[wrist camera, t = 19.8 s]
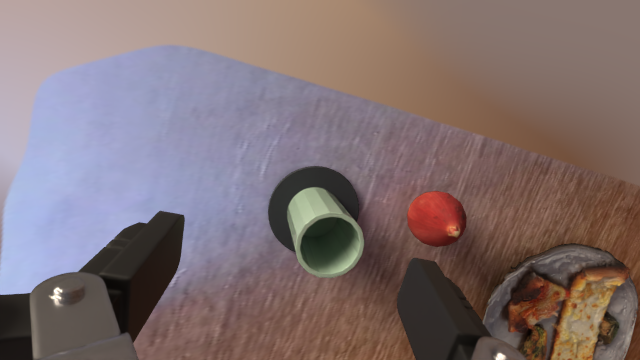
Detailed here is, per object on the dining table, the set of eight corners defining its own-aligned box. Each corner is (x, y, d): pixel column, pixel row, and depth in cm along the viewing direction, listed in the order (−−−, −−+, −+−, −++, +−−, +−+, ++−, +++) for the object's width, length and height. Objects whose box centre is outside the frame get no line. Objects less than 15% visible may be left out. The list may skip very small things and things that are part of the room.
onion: (432, 175, 39) (474, 192, 31) (450, 216, 40) (495, 242, 33) (388, 200, 39) (420, 223, 31) (408, 240, 40) (443, 272, 32)
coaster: (250, 227, 36) (250, 229, 36) (299, 148, 36) (299, 149, 35) (327, 267, 39) (328, 269, 39) (374, 194, 38) (375, 195, 38)
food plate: (495, 231, 42) (515, 242, 39) (641, 246, 47) (671, 257, 43) (449, 402, 47) (464, 425, 43) (587, 400, 51) (610, 420, 48)
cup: (277, 222, 36) (282, 259, 28) (305, 177, 36) (319, 200, 27) (321, 246, 38) (340, 288, 29) (349, 203, 37) (376, 232, 29)
